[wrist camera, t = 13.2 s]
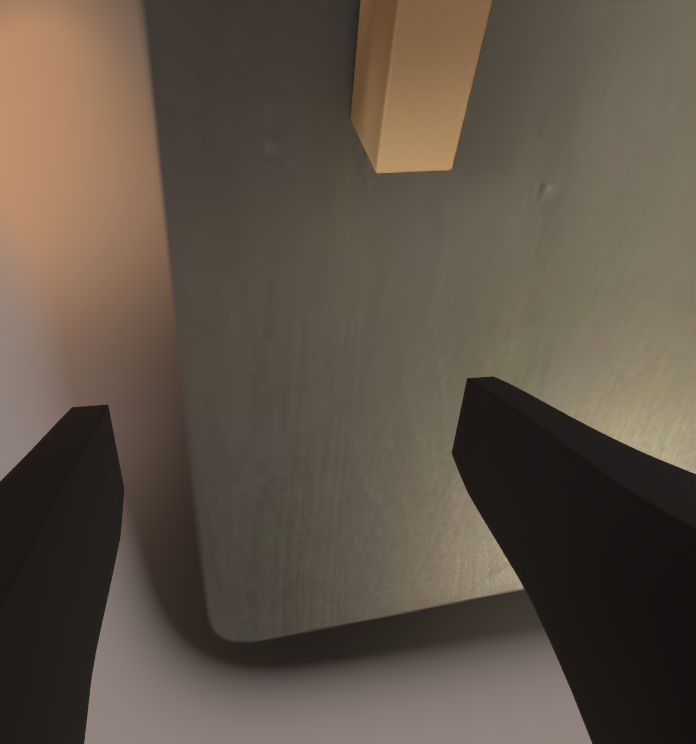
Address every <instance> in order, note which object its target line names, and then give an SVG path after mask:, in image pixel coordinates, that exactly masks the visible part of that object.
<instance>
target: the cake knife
mask: <svg viewBox="0 0 696 744" xmlns="http://www.w3.org/2000/svg"><path fill="white" fill-rule="evenodd" d="M491 4H492V0H361V1H360V13H359V25H358V37H357V48H356V60H355V72H354V84H353V96H352V108H351V122H352V124H353V126H354V128H355V130H356V132H357V135H358V137H359V139H360V141H361V143H362V145H363V147H364V149H365V151H366V153H367V155H368V157H369V159H370V162H371V164H372V166H373V168H374V170H375V172H376V173H395V172H419V171H443V170H451V169H452V166H453V161H454V157H455V153H456V149H457V145H458V141H459V137H460V132H461V128H462V124H463V120H464V116H465V112H466V108H467V103H468V99H469V95H470V91H471V87H472V83H473V79H474V74H475V70H476V66H477V62H478V58H479V54H480V50H481V45H482V41H483V37H484V33H485V29H486V25H487V21H488V16H489V12H490V8H491Z"/></svg>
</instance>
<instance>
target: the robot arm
mask: <svg viewBox="0 0 696 744" xmlns="http://www.w3.org/2000/svg"><path fill="white" fill-rule="evenodd" d="M452 455H453V458H454V460H455V463H456V465H457V468H458V470H459V473H460V475H461V478H462V480H463V482H464V485H465V487H466V489H467V491H468V493H469V495H470V497H471V499H472V501H473V502H474V504H475V506H476V507H477V509H478V511H479V513H480V514H481V516H482V518H483V519H484V521H485V523H486V524H487V526H488V528H489V529H490V531H491V533H492V534H493V536H494V538H495V539H496V541H497V543H498V544H499V546H500V548H501V549H502V551H503V553H504V554H505V556H506V558H507V559H508V561H509V563H510V564H511V566H512V568H513V569H514V571H515V573H516V574H517V576H518V578H519V579H520V581H521V583H522V585H523V587H524V588H525V590H526V592H527V594H528V596H529V598H530V600H531V602H532V604H533V606H534V608H535V610H536V612H537V614H538V617H539V619H540V621H541V623H542V625H543V627H544V629H545V631H546V634H547V636H548V638H549V640H550V642H551V644H552V647H553V649H554V651H555V654H556V656H557V658H558V661H559V663H560V665H561V667H562V670H563V672H564V674H565V677H566V679H567V681H568V684H569V686H570V688H571V691H572V693H573V695H574V698H575V701H576V703H577V705H578V708H579V711H580V713H581V716H582V718H583V721H584V723H585V726H586V729H587V731H588V733H589V736H590V739H591V741H592V744H696V474H694V473H691V472H689V471H686V470H684V469H681V468H679V467H676V466H674V465H671V464H669V463H666V462H664V461H662V460H659V459H657V458H654V457H652V456H650V455H647V454H645V453H643V452H641V451H638V450H636V449H634V448H632V447H630V446H628V445H626V444H623V443H621V442H619V441H617V440H615V439H613V438H611V437H609V436H607V435H605V434H603V433H601V432H599V431H597V430H595V429H593V428H591V427H589V426H587V425H585V424H583V423H581V422H580V421H578V420H576V419H574V418H572V417H570V416H568V415H566V414H565V413H563V412H561V411H559V410H557V409H555V408H554V407H552V406H550V405H548V404H546V403H544V402H543V401H541V400H539V399H537V398H535V397H533V396H532V395H530V394H528V393H526V392H524V391H522V390H520V389H518V388H517V387H515V386H513V385H511V384H509V383H507V382H504V381H502V380H500V379H498V378H495V377H480V378H467V382H466V387H465V392H464V397H463V402H462V406H461V411H460V416H459V421H458V426H457V431H456V435H455V440H454V445H453V450H452ZM123 497H124V485H123V481H122V475H121V470H120V465H119V459H118V454H117V450H116V444H115V438H114V433H113V428H112V423H111V418H110V412H109V407H108V405H98V406H84V407H72V408H71V409H70V410H69V411H68V412H67V413H66V414H65V415H64V416H63V417H62V418H61V419H60V420H59V421H58V422H57V423H56V424H55V426H54V427H53V428H52V429H51V430H50V431H49V432H48V433H47V434H46V435H45V436H44V437H43V438H42V439H41V441H39V443H38V444H37V445H36V446H35V447H34V448H33V449H32V450H31V451H30V452H29V453H28V454H27V455H26V456H25V457H24V458H23V459H22V460H21V461H20V462H19V463H18V464H17V465H16V466H15V467H14V468H13V469H12V470H11V471H10V472H9V473H8V474H7V475H6V476H5V477H4V478H3V479H2V480H1V481H0V744H84V740H85V730H86V722H87V713H88V703H89V695H90V685H91V678H92V672H93V666H94V660H95V654H96V649H97V644H98V640H99V635H100V630H101V626H102V621H103V616H104V611H105V607H106V602H107V597H108V593H109V589H110V584H111V579H112V575H113V570H114V565H115V560H116V556H117V551H118V546H119V541H120V534H121V524H122V511H123Z"/></svg>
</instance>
